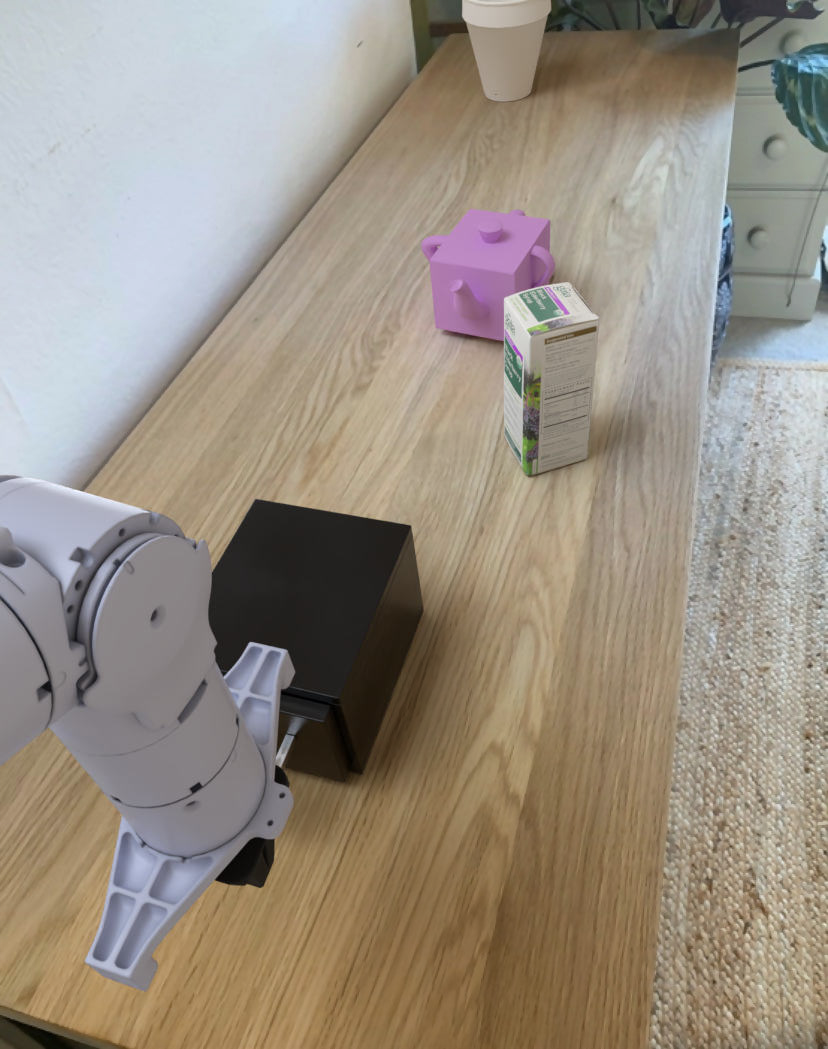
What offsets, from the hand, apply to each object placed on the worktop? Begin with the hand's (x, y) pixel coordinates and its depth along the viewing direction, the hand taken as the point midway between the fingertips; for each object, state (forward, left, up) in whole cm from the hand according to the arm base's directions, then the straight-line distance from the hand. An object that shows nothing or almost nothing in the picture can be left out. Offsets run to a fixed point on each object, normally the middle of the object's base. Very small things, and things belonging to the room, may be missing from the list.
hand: (250, 869), depth 42 cm
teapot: (+61, +4, -10) cm, 62 cm away
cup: (+117, +15, -10) cm, 118 cm away
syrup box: (+43, -6, -10) cm, 45 cm away
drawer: (+13, +5, -9) cm, 17 cm away
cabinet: (+17, +5, -10) cm, 20 cm away
